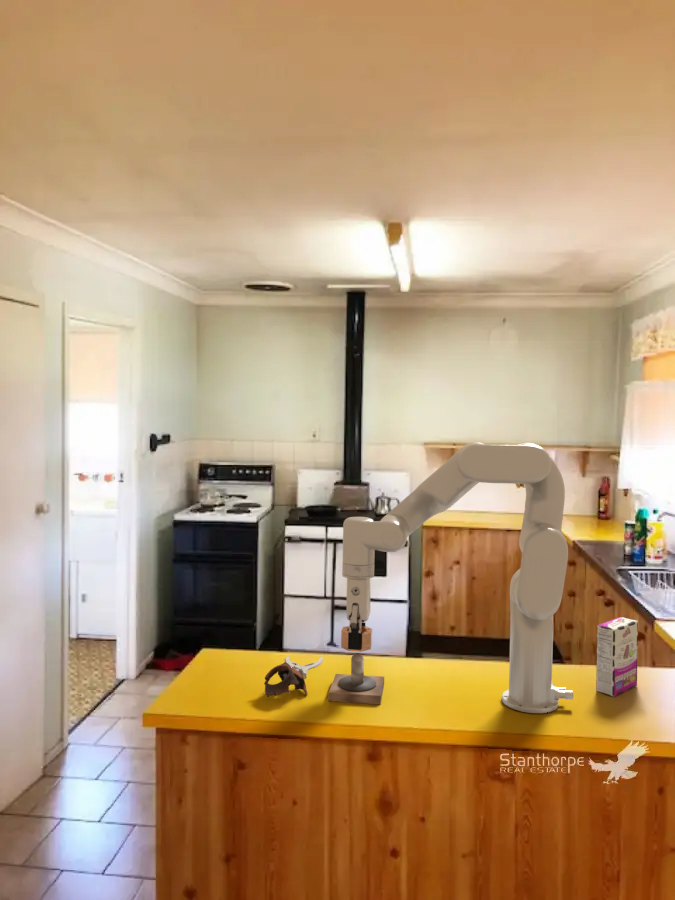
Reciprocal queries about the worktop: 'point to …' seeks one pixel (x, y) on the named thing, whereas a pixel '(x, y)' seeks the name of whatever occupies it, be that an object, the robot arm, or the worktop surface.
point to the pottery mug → (284, 680)
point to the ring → (365, 638)
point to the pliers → (303, 668)
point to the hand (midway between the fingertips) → (356, 643)
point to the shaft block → (357, 685)
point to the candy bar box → (617, 656)
